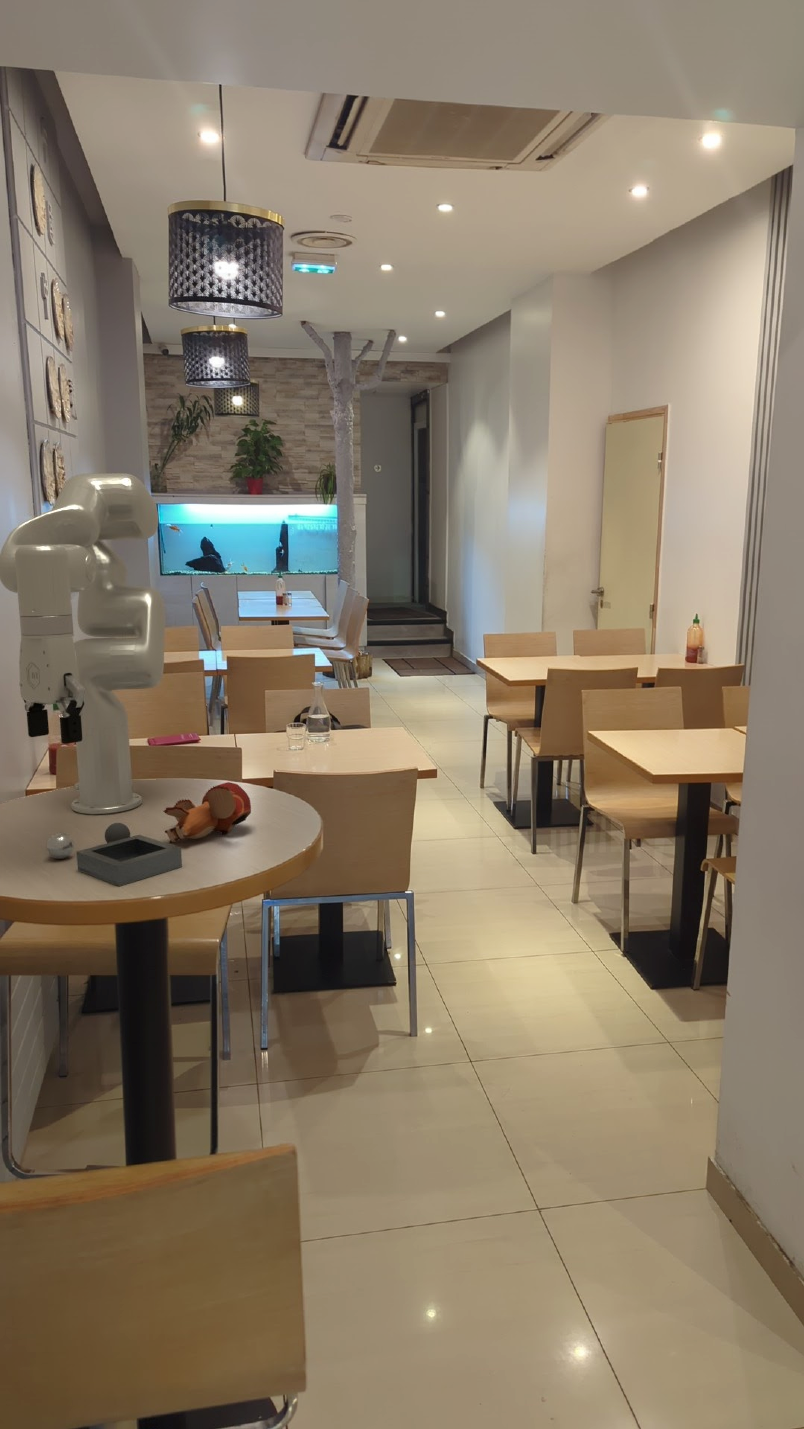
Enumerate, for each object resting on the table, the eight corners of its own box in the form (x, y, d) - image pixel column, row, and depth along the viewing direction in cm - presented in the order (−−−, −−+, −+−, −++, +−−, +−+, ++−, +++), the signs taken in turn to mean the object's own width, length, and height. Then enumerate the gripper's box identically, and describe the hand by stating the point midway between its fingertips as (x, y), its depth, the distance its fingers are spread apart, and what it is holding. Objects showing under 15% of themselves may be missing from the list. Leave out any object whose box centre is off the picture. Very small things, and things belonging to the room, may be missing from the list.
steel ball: (42, 858, 153) (40, 834, 152) (66, 852, 156) (64, 828, 155) (55, 864, 150) (53, 839, 150) (79, 857, 153) (77, 833, 153)
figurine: (216, 848, 151) (286, 807, 162) (191, 797, 151) (262, 760, 161) (159, 866, 166) (226, 827, 176) (136, 820, 165) (204, 784, 175)
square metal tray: (77, 870, 147) (76, 851, 147) (140, 852, 155) (139, 834, 155) (118, 886, 140) (117, 866, 139) (182, 866, 148) (181, 847, 148)
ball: (100, 847, 158) (98, 823, 158) (122, 841, 161) (120, 818, 161) (114, 852, 156) (112, 828, 155) (135, 846, 159) (134, 822, 158)
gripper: (-5, 627, 150) (4, 736, 153) (53, 631, 139) (62, 749, 141) (40, 624, 156) (48, 730, 158) (100, 627, 144) (108, 741, 147)
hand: (55, 739), depth 150 cm, fingers open, 9 cm apart
